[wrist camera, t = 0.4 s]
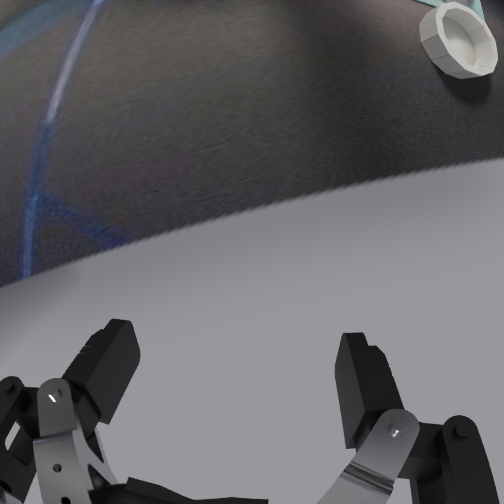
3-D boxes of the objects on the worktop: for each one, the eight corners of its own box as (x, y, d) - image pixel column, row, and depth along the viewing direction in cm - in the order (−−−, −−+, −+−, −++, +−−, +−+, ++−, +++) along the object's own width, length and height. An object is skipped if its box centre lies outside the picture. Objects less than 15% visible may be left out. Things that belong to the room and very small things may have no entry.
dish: (415, 3, 23) (430, -9, 19) (473, 25, 23) (490, 18, 18) (423, 67, 27) (441, 61, 23) (480, 86, 27) (500, 84, 22)
